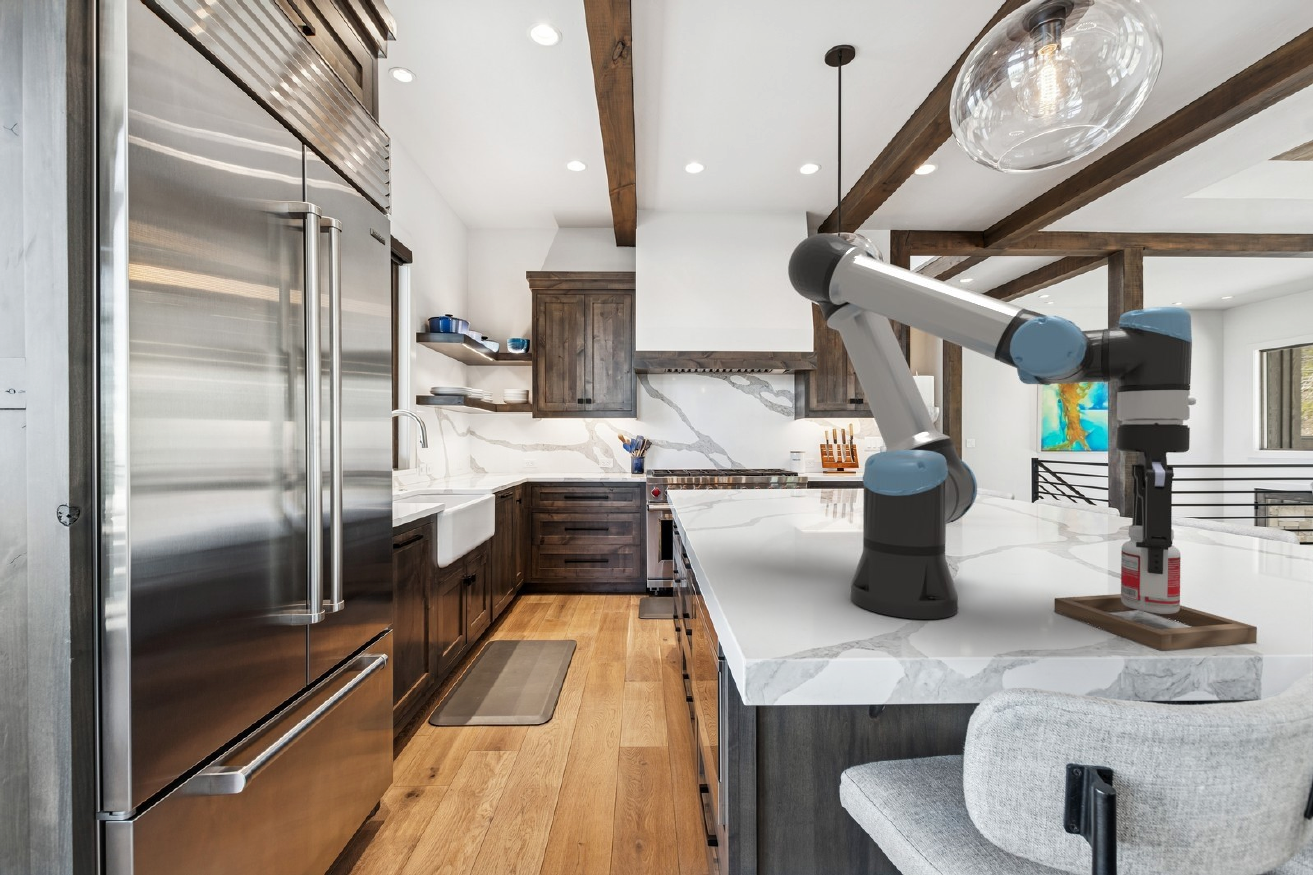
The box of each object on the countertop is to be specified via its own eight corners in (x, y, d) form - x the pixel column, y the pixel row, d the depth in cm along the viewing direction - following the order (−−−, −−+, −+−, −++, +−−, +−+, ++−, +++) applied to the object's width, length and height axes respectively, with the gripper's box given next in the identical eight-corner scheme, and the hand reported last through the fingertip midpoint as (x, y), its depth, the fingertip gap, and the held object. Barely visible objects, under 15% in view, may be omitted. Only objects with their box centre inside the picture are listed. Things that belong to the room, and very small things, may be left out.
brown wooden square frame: (1161, 650, 70) (1161, 634, 70) (1054, 611, 85) (1054, 598, 85) (1256, 642, 73) (1256, 627, 73) (1137, 605, 88) (1137, 593, 88)
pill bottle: (1186, 610, 78) (1188, 529, 78) (1171, 618, 74) (1172, 533, 74) (1129, 598, 83) (1131, 522, 83) (1113, 605, 80) (1114, 526, 79)
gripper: (1206, 422, 68) (1202, 614, 69) (1175, 423, 84) (1172, 579, 85) (1125, 422, 72) (1122, 603, 73) (1110, 423, 88) (1107, 572, 89)
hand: (1149, 590), depth 79 cm, fingers closed on pill bottle, 6 cm apart
